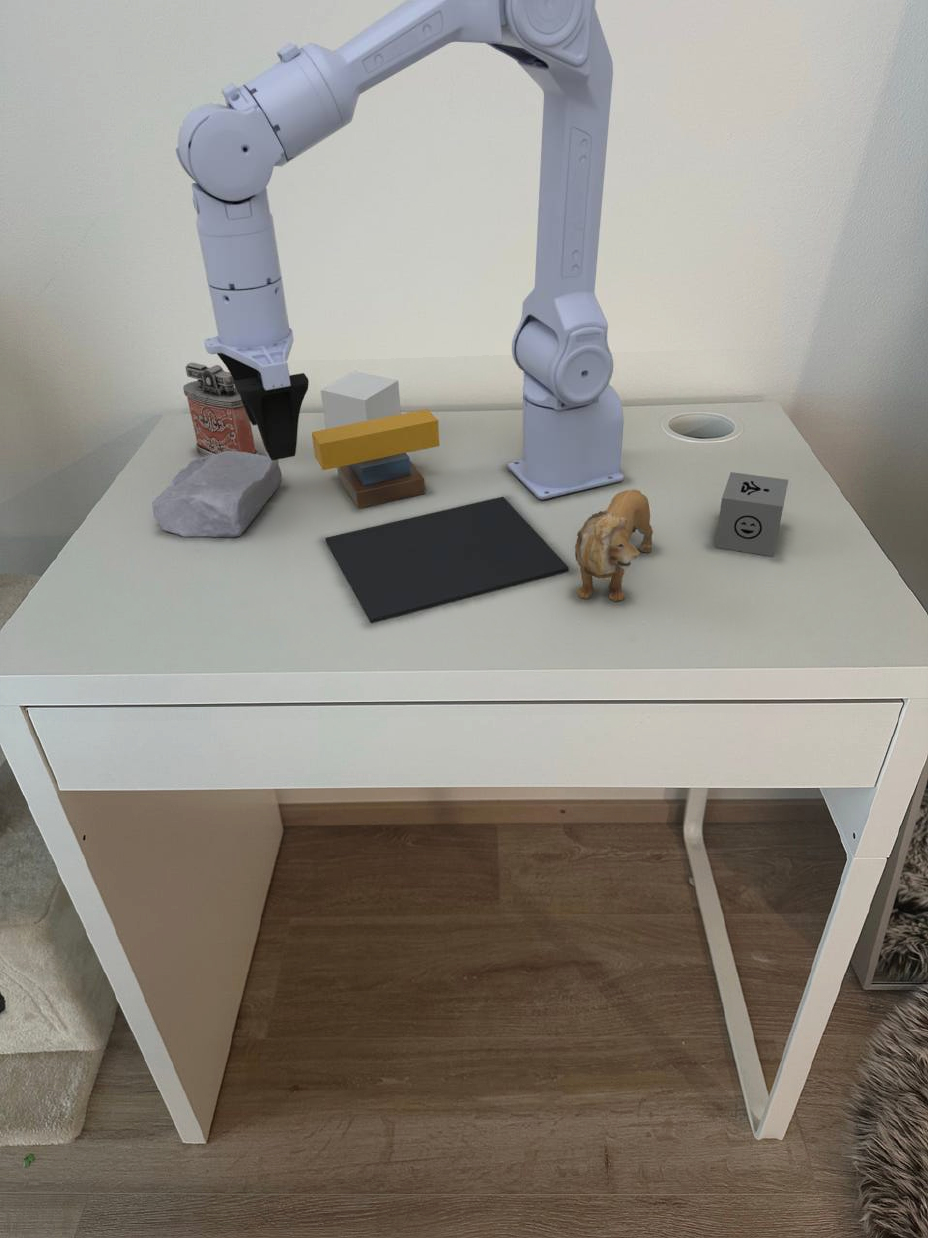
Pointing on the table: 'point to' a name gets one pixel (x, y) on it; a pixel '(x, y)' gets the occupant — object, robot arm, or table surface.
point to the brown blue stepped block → (381, 480)
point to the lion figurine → (612, 542)
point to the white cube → (359, 399)
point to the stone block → (217, 494)
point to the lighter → (217, 412)
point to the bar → (375, 439)
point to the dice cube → (751, 513)
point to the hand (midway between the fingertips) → (272, 438)
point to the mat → (442, 558)
